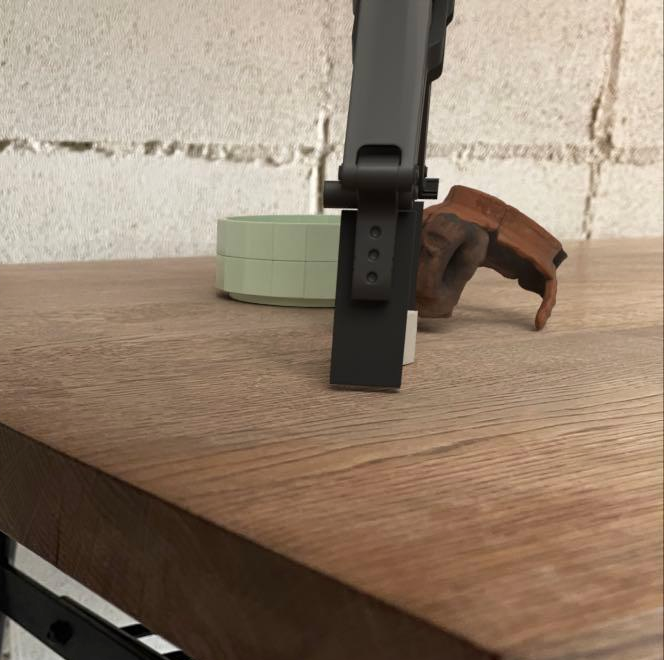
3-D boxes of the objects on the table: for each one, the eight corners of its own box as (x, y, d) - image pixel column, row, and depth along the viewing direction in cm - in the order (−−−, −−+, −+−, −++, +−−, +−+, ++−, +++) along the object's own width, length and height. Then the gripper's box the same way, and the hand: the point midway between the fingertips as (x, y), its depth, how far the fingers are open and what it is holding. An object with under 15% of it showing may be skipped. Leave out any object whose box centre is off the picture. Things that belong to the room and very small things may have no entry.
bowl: (328, 283, 83) (332, 213, 82) (461, 301, 72) (468, 220, 71) (178, 292, 77) (179, 216, 75) (297, 314, 66) (302, 226, 65)
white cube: (371, 357, 51) (376, 301, 51) (413, 363, 50) (419, 305, 49) (346, 362, 50) (351, 305, 49) (389, 368, 49) (394, 310, 48)
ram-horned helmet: (365, 318, 68) (445, 195, 66) (502, 401, 65) (589, 275, 63) (322, 284, 57) (416, 134, 55) (484, 382, 54) (590, 228, 52)
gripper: (348, -117, 55) (320, 319, 62) (278, -315, 33) (245, 406, 40) (508, -125, 54) (460, 325, 60) (551, -341, 31) (467, 421, 38)
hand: (375, 359), depth 50 cm, fingers open, 13 cm apart
